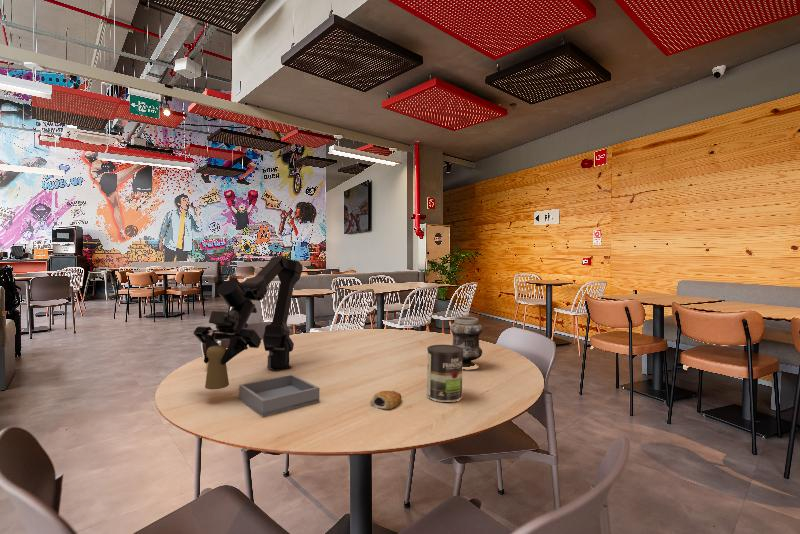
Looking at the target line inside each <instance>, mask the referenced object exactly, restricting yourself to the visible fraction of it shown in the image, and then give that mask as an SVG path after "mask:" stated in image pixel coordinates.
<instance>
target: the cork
mask: <svg viewBox="0 0 800 534" xmlns="http://www.w3.org/2000/svg"><path fill="white" fill-rule="evenodd" d="M226 350H227V347H226V346H224V345H221V346H220V345H217V346H212V347H209V348H208V349H207V352H206V355H207V357H208V359H209V361H208V369H207V368H206V378H205V385H204V388H205V389H206V390H220V389H224V388H227V387H228V386H230V382H229V375H228V369H227V363H225V364H224V365H222V364H221V361H222V358H223V356H224V354H225V352H226Z"/></svg>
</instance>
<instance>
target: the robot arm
mask: <svg viewBox="0 0 800 534" xmlns="http://www.w3.org/2000/svg"><path fill="white" fill-rule="evenodd" d="M302 273H303V264H302V263H301V262H300V261H299V260H293V259H290V258H288V257H286V256H272V257H271V258H270V260H269V262H267V263H266V265H265V266H263V267H262V269H260V271H259V272H258V273H257V274H256V275H255V276H253V277H249V278H247V279H245V280H243V281H242V282H241V283H240V282H239V280H238V278H237V277H230V278H229V279H228V280H225V281H224V282H222V283H221V284H220V285H218V286H217V289H216V291H217V294H218V295H219V296H220V297H221V299H222V300H223V302H224V303H225V304H226V306H227V307H230V310H229V311H227V312H226V311H217V310H212V311H211V312H210V317H209V320H208V323H209V324H214V325H215V329H216V330H219V331H214V330H213V329H212V327H211V326H206V325H205V326H204V325H199V326H196V328H195V329H194V331H193V333H192V334H193V335H194V336H195V337H196V339H198V341H200V342H201V344H203V345H205V350H204V359H203V363H204V364H206V363H208V361H209V359H208V357H207V355H206V352H207V349H208V348H209V347H212V346H217V345H219V344H218V343H217V342H218V341H219V340H221V341H224V340H225V341H229V345H228V346H227V347H226V349H227V350H226V352H225V354H224V356H223V358H222V361H221V364H222V365H224V364H225V363H226V364H227V363H228V362H230V361H231V360H232V359H233V358H235V357H236V356H237V355H239V354H240V353H242V352H243V351H244V350H245V351H246V350H248V349H249V348H252V349H253V348H254V349H258V348H260V345H261V343H262V342H263V347H264V350H265V352H268V355H267V365H266V367H267V368H268V369H270V370H271V371H274V372H275V371H282V370H287V369H291V368H292V366H291V365H290V352H293V350H294V346H295V344H294V341H293V340H292V338H291V337H290V333H291V331H290V328H289V326H288V319H289V312H290V308H291V302H292V297H293V293H294V286H295V285H296V284H297V282H298V281H299V280H300V278H301V276H302ZM276 277H277V278H278V280H279V283H280V284H279V287H278V293H277V296H276V297H277V298H276V301H275V302H276V303H275V308H274V313H273V318H272V321H271V323H270V324H266V325H265V326H264V333H263V335H262V339H261V337H260V335H258V333H257V331H256V330H255V329H249V328H248V326H249V324H248V323H247V322H248V320H249V318H250V316H251V315H252V314H256V313H257V312H258V310H257V307H256V304H255V303H253V301H254V302H255V301H256V302H257V301H259V302H260V301H262V300H263V299H264V298H265V296H266V295H267V293H268V286H269V284H271V283H272V282H273V280H274V279H275V278H276Z"/></svg>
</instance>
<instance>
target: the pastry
mask: <svg viewBox="0 0 800 534" xmlns="http://www.w3.org/2000/svg"><path fill="white" fill-rule="evenodd" d="M401 402H402V395H401V393H399V392H396V391H395V390H380V391H378V392H376V393H375V394H374V395H373V397H372V398H371V400H370V402H369V403H370V406H372V407H373V408H376V409H381V410H392V409H394V407H398V405H399V404H400V403H401Z"/></svg>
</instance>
